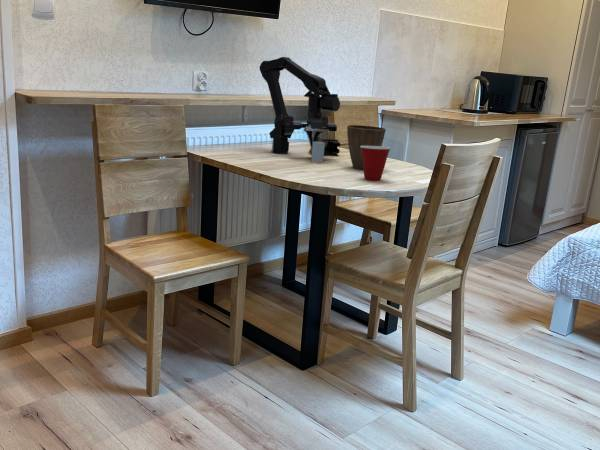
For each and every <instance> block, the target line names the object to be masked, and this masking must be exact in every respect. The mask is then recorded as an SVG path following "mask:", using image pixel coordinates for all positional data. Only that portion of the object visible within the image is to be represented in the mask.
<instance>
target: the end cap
mask: <svg viewBox="0 0 600 450" xmlns="http://www.w3.org/2000/svg"><path fill="white" fill-rule="evenodd" d="M322 139H323V140H324V141H326V142H328V143H327V145H326V147H325V148H324V157H339V156H340V151H341V149H340V148H339V147H341V142H339V140H338V139H330V138H329V139H326V138H322Z"/></svg>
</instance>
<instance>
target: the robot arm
mask: <svg viewBox="0 0 600 450" xmlns="http://www.w3.org/2000/svg"><path fill="white" fill-rule="evenodd" d="M284 70H286V71H287V72H288V73H290V74H291V75H292V76H294V77H295V78H297V79H298V80H300V81H301V82H302V83H303V86H304V87H305V88H306V89H307V90H308V91H307V92H306V93H305V94H304V95H303V97H305V98H308V102H307V112H306V113H307V114H306V123H302V122H301V120H300V121H299V120H298V121H296V120H295V119H294V117H293V115H289V114H288V112H287V109H286V104H285V101H284V96H283V92H282V89H281V85H280V77H281V71H284ZM259 71H260V74H261V77H262V78H263V80H264V81H265V82H266V84H267V87H268V91H269V95H270V99H271V103H272V106H273V107H272V108H273V111H274V115H275V117H274V118H275V119H274V121H273V123H274V128H273V129H272V130H271V131H270V132H269V138H270V139H272V142H271V143H272V145H271V147H272V148H271V150H270V151H271V153H273V154H289V151H290V142H289V139H291V137H292V135H293V133H294V132H295V130H299V131H300V130H301V129H303V131H304V133H306V135H307V138H308V141H309V142H308V143H309V146H310V148H311V147H312V145H313V141H315V142H316V139H317V137H319V136H320V134H322V133H324V131H323V130H328V131H329V132H337V130H338V126H337V124H336V123H333V122H329V117H328V116H322V115H323V111H326V112H327V111H330V112H337V111H339V110H340V107H341V101H340V98H339V94H338V93H331V92H330V91H329V89H328V86H327V83H326V82H327V81H326V79H325V78H323V77H321V76H318V75H316V74H313V73H311V72H309V71H308V70H306V69H305V68H304V67H302V66H300V65H299V64H297V62H295V61H293V59H291V58H290V57H287V56H281V57H278V58H276V59H272V60H263V61H262V62H260V65H259Z"/></svg>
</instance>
